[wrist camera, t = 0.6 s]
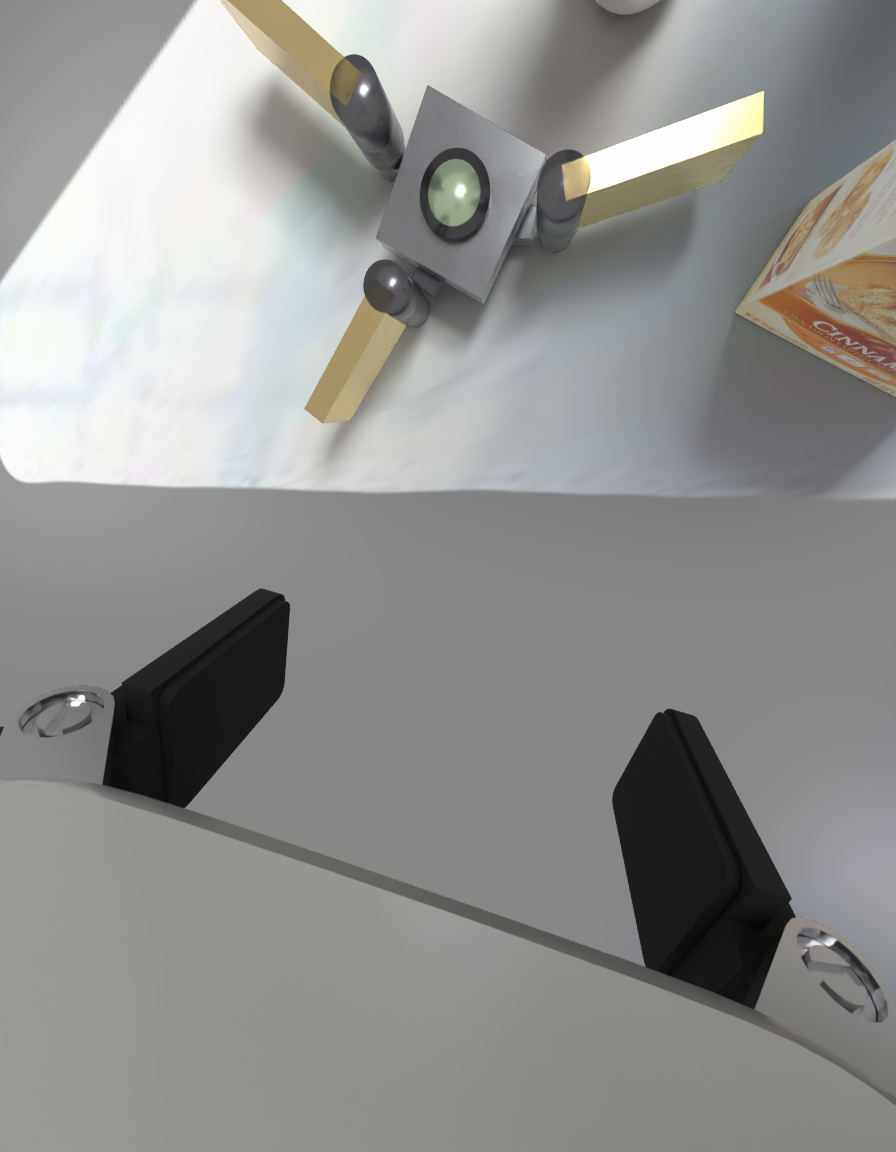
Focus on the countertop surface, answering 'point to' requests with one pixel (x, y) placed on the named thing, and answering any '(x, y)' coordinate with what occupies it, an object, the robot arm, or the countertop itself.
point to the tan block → (368, 341)
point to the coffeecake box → (838, 276)
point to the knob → (643, 169)
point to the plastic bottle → (626, 5)
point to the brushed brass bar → (326, 78)
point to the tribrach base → (460, 198)
